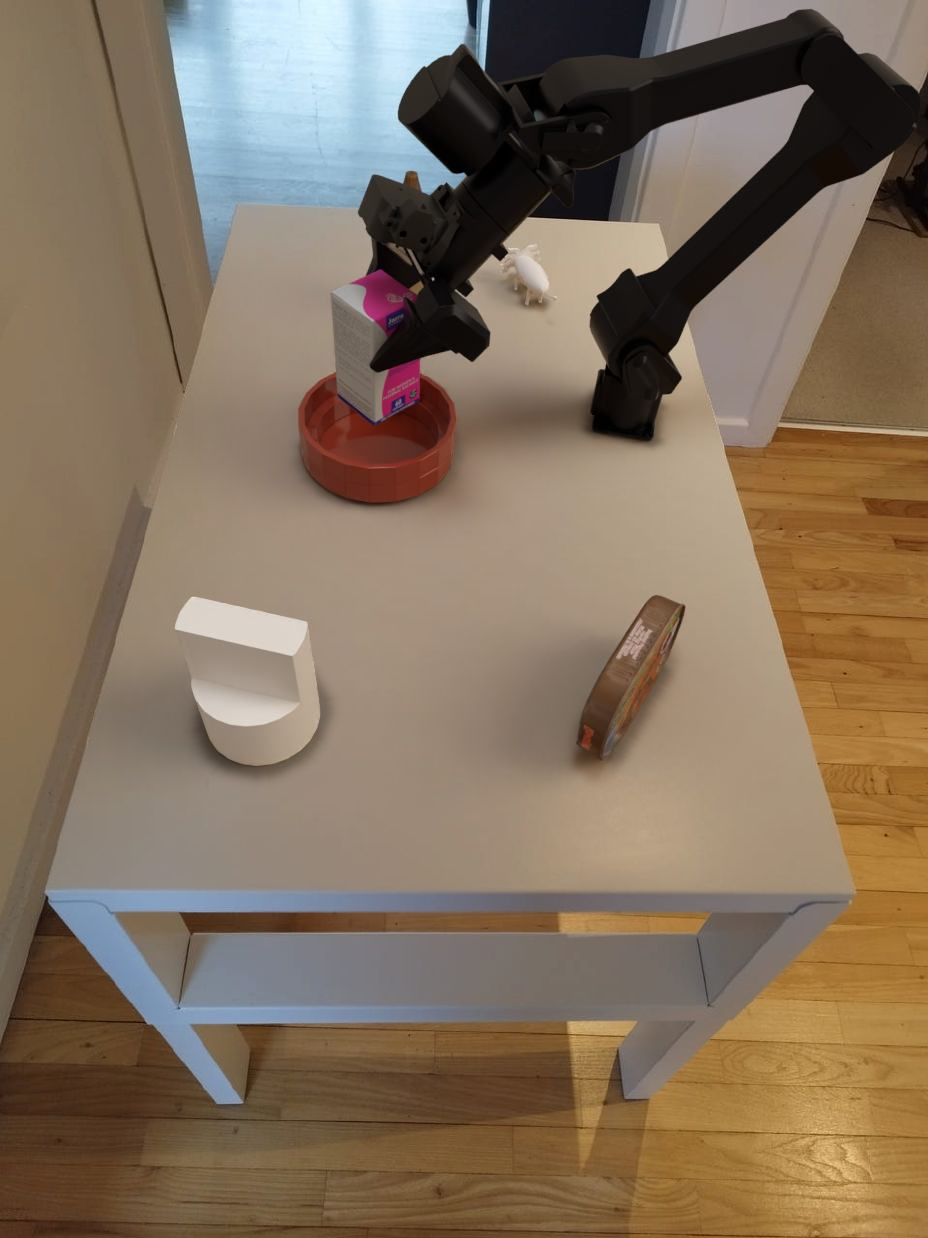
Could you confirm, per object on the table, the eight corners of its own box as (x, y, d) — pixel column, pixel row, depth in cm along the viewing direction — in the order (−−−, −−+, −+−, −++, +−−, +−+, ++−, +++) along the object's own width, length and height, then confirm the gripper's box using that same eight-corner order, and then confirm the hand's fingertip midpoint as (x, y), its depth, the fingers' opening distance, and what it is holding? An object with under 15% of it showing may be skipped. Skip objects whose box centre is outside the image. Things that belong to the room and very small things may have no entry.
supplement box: (376, 428, 82) (370, 321, 72) (336, 397, 84) (326, 289, 75) (422, 402, 84) (422, 295, 75) (383, 372, 87) (378, 265, 77)
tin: (597, 780, 68) (618, 725, 62) (561, 760, 69) (578, 703, 62) (674, 649, 76) (700, 587, 70) (641, 632, 77) (664, 570, 70)
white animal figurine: (493, 276, 110) (496, 240, 106) (532, 270, 111) (536, 233, 107) (532, 332, 103) (537, 295, 99) (572, 324, 104) (579, 287, 101)
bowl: (466, 417, 93) (469, 378, 89) (435, 518, 84) (437, 480, 80) (328, 392, 94) (325, 353, 90) (282, 490, 85) (276, 451, 81)
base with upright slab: (335, 681, 72) (325, 590, 63) (298, 777, 67) (281, 693, 57) (231, 658, 73) (206, 564, 64) (186, 750, 68) (151, 663, 58)
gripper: (387, 90, 71) (269, 236, 78) (459, 206, 61) (316, 364, 67) (473, 176, 79) (360, 302, 86) (550, 291, 69) (415, 425, 75)
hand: (362, 343), depth 78 cm, fingers closed on supplement box, 7 cm apart
